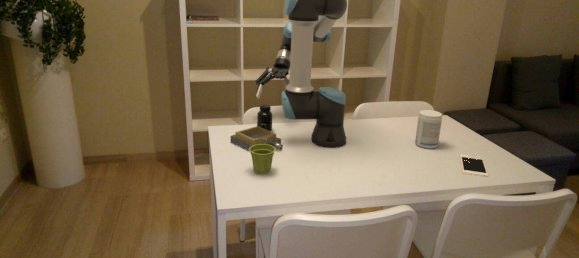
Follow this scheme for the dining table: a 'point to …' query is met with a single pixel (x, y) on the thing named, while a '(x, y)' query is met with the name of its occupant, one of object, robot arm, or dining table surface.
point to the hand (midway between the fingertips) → (271, 99)
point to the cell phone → (473, 165)
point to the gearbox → (255, 138)
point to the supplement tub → (428, 129)
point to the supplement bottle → (265, 117)
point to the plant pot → (262, 157)
